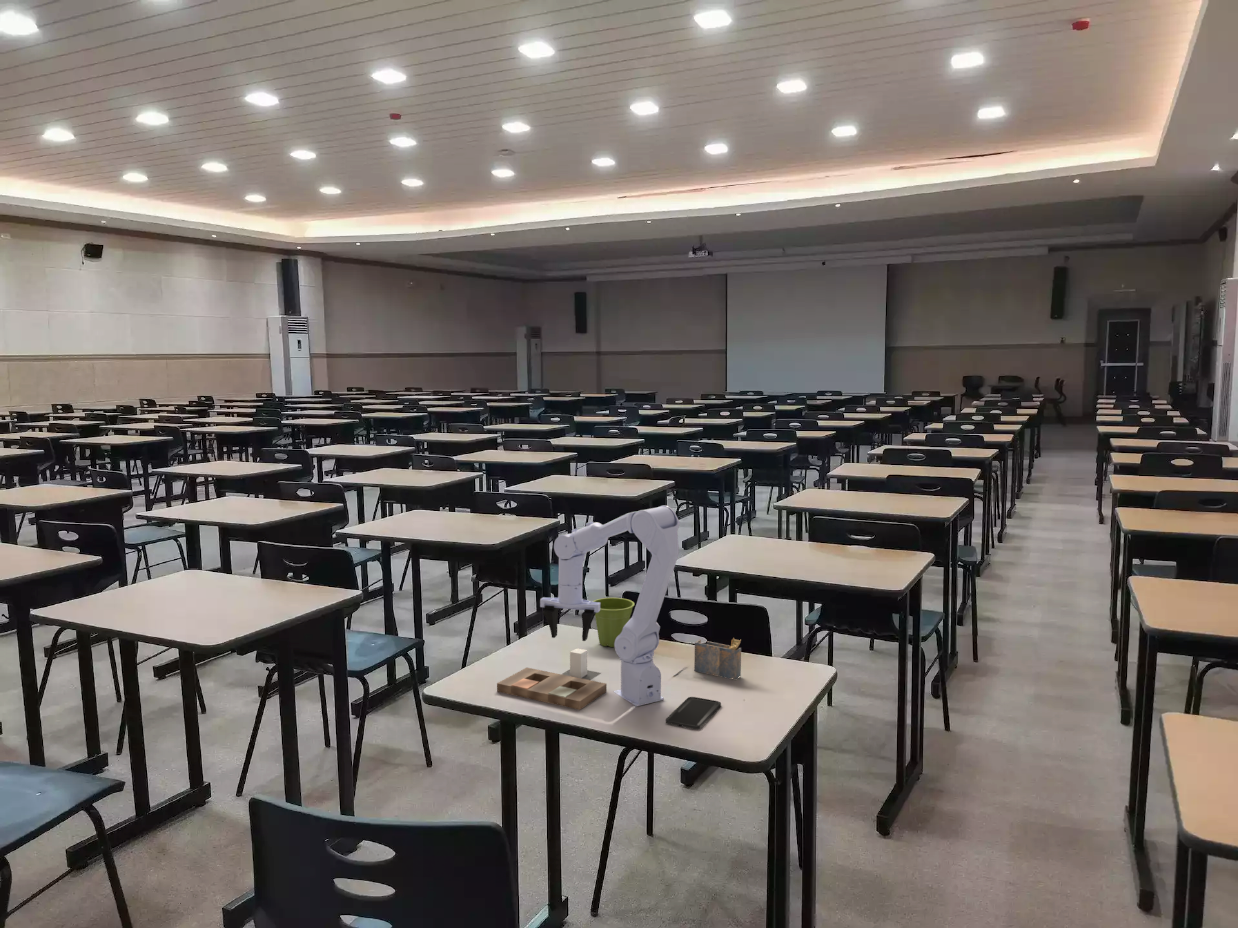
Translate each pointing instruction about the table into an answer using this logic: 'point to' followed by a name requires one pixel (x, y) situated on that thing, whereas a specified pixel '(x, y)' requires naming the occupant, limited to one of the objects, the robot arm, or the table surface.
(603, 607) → the plant pot
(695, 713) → the phone
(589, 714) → the table surface
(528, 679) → the socket block
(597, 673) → the grey square plate
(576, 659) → the plug
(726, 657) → the weathered storage box
